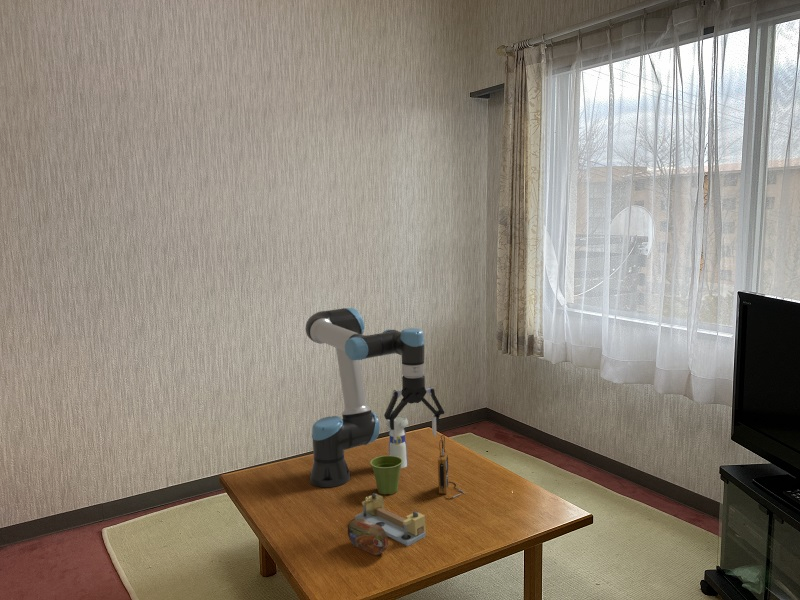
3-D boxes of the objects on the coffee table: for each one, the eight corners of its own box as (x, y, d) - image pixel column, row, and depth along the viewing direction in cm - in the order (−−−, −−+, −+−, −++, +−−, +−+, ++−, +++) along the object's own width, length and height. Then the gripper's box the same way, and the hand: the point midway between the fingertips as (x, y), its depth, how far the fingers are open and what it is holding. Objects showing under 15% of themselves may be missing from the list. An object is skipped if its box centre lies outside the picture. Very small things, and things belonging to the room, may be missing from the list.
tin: (347, 543, 191) (346, 517, 190) (354, 539, 193) (353, 513, 192) (383, 559, 181) (381, 532, 180) (390, 555, 183) (389, 528, 182)
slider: (359, 514, 206) (358, 496, 205) (375, 507, 210) (375, 489, 210) (367, 518, 203) (366, 500, 202) (383, 510, 207) (383, 493, 207)
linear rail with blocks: (355, 519, 206) (354, 497, 205) (374, 510, 211) (373, 489, 210) (407, 546, 188) (406, 522, 187) (426, 535, 193) (426, 512, 192)
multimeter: (465, 500, 216) (464, 445, 213) (437, 499, 218) (435, 444, 215) (469, 482, 230) (468, 431, 228) (442, 481, 232) (441, 430, 230)
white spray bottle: (409, 468, 245) (407, 407, 242) (388, 469, 245) (385, 408, 242) (409, 460, 253) (407, 401, 250) (388, 461, 254) (386, 402, 250)
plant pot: (408, 485, 230) (407, 456, 228) (397, 499, 219) (396, 469, 217) (378, 482, 234) (377, 453, 232) (366, 495, 223) (365, 466, 221)
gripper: (378, 381, 200) (380, 444, 203) (452, 375, 205) (453, 436, 208) (374, 375, 207) (376, 436, 210) (446, 369, 212) (447, 429, 215)
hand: (414, 436), depth 209 cm, fingers open, 13 cm apart
